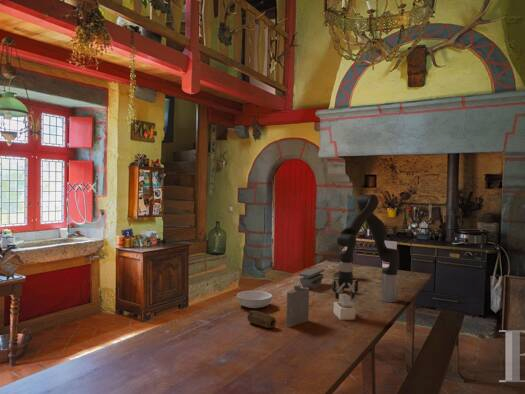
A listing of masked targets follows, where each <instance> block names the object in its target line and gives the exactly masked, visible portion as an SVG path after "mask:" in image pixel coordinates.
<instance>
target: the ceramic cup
mask: <svg viewBox="0 0 525 394" xmlns="http://www.w3.org/2000/svg"><path fill="white" fill-rule="evenodd" d="M338 276H339V275H334V274H333V275H331V281H332V283H333V280H335V281H338ZM338 285H339V284H338V283H337V284H336V288H337V286H338ZM344 292H345V288H344V289H343V288H342V289H341V290H340V291H339V292H338V293H339V294H342V293H344Z"/></svg>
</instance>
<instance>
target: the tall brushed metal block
mask: <svg viewBox="0 0 525 394" xmlns="http://www.w3.org/2000/svg"><path fill="white" fill-rule="evenodd" d="M338 302H339V306H340V307H342V308H350V304H351V296H349V295H348V294H347V293H339V299H338Z"/></svg>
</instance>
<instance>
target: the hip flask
mask: <svg viewBox="0 0 525 394" xmlns="http://www.w3.org/2000/svg"><path fill="white" fill-rule="evenodd" d="M293 288H294V289H290V290H288V291H287V292H286V309H285V310H286V314H285V315H286V316H285V327H286V328H292V327H294V326H297V325H300V324H303V323H307V322H309V311H310V310H309V308H310V307H309V306H310V288H307V287H302V284H294V285H293Z"/></svg>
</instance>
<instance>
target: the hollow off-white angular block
mask: <svg viewBox="0 0 525 394" xmlns="http://www.w3.org/2000/svg"><path fill="white" fill-rule="evenodd" d="M332 312H333V314H334V315H335V316H336V317H337V318H338V319H339V320H340V321H343V320H356V312H357V311H356V307H354V306H353V305H352V304H351V303H350V308H342V307H340V306H339V301H333V311H332Z"/></svg>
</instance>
